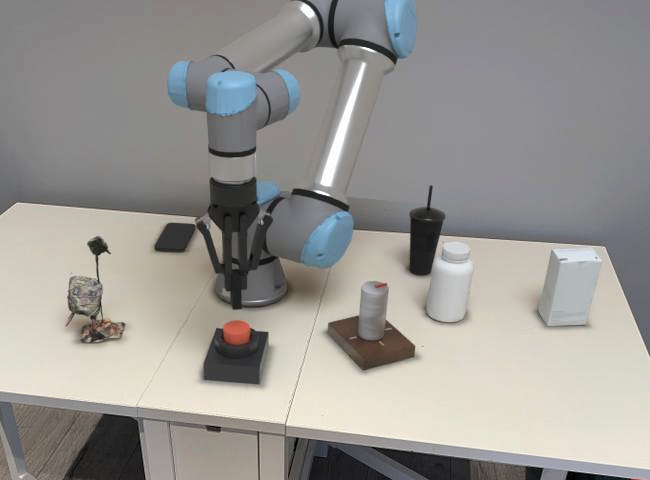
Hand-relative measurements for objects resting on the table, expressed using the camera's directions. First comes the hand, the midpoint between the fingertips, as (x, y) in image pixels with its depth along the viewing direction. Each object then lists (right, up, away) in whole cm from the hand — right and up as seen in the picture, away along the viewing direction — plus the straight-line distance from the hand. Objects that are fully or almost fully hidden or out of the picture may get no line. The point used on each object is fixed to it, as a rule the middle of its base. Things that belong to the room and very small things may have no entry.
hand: (236, 305), depth 134 cm
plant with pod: (-28, -5, +15) cm, 32 cm away
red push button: (0, -6, +4) cm, 7 cm away
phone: (-17, +20, +51) cm, 58 cm away
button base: (0, -10, +7) cm, 12 cm away
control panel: (+25, -7, +12) cm, 29 cm away
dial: (+25, -5, +11) cm, 28 cm away
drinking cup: (+40, +10, +38) cm, 56 cm away
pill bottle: (+42, 0, +23) cm, 48 cm away
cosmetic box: (+65, -1, +21) cm, 68 cm away
